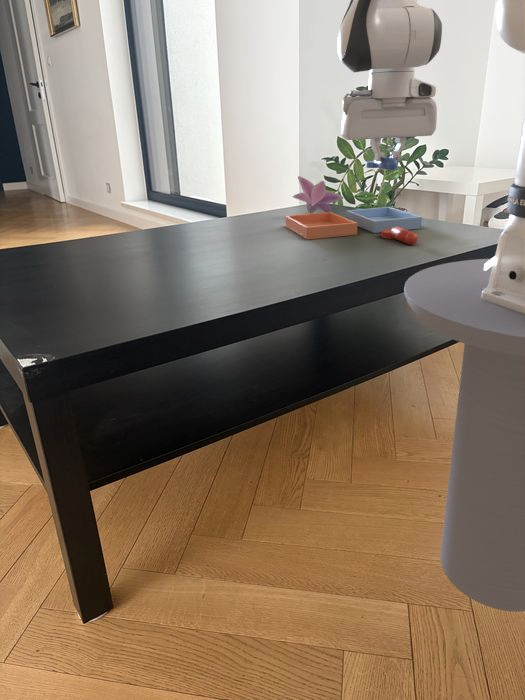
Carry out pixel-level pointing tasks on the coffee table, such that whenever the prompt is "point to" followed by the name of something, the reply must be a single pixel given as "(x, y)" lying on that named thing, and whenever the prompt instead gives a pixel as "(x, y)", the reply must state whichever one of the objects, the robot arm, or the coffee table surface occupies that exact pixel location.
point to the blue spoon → (383, 164)
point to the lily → (316, 196)
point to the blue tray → (384, 219)
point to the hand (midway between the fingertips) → (387, 161)
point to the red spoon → (400, 235)
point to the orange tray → (320, 225)
